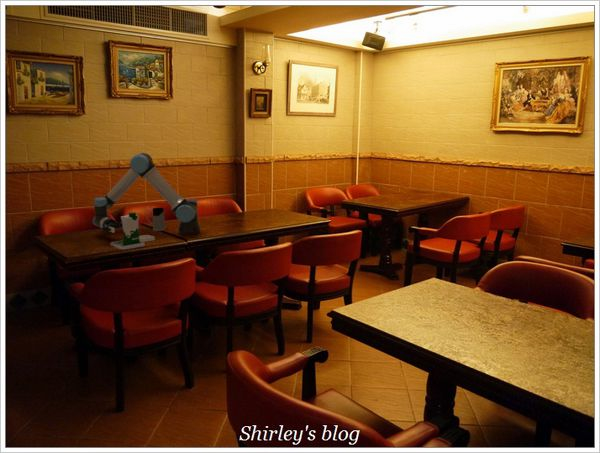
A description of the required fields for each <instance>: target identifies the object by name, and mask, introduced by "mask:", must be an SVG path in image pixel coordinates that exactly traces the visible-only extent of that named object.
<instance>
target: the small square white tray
mask: <svg viewBox="0 0 600 453" xmlns="http://www.w3.org/2000/svg"><path fill="white" fill-rule="evenodd" d="M139 241H141V242H144V243H145V242H151V241H156V237H155V236H153V235H149V234H144V235H139Z"/></svg>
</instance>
